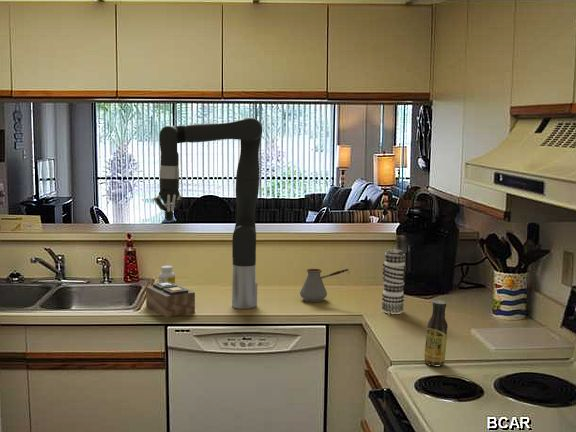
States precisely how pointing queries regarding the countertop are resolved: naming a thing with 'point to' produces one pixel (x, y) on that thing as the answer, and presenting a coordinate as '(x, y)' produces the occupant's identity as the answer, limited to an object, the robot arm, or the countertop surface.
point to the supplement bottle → (166, 275)
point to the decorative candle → (393, 281)
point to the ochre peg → (175, 289)
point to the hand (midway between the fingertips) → (168, 220)
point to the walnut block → (170, 300)
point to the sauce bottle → (436, 335)
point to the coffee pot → (315, 285)
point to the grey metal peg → (165, 284)
